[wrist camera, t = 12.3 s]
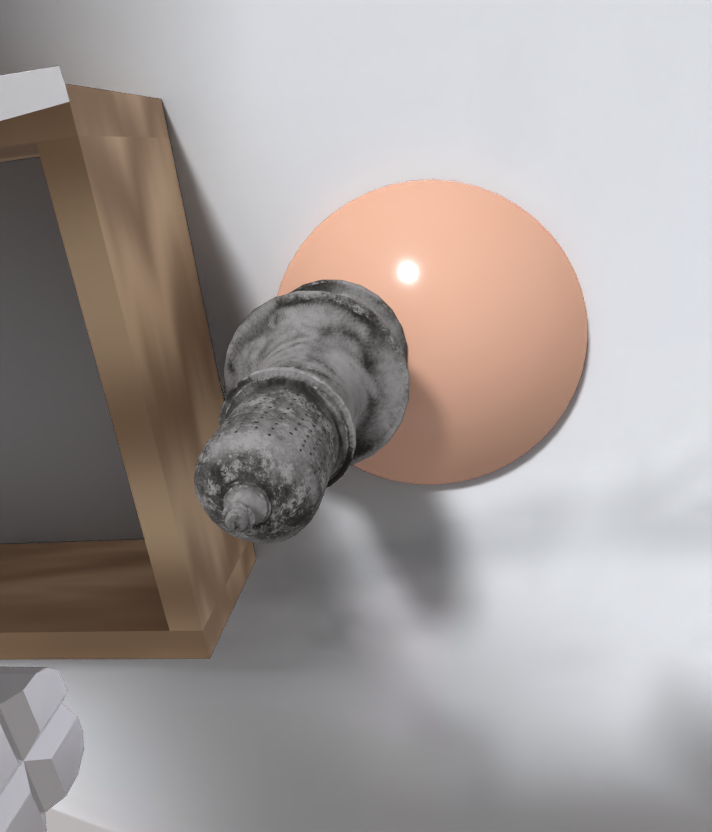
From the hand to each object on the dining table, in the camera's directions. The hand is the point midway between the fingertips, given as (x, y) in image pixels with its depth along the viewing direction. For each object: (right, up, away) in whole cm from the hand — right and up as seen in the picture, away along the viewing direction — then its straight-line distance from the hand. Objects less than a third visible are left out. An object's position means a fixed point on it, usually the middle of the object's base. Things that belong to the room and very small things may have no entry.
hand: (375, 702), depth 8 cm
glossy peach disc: (+2, +6, +16) cm, 17 cm away
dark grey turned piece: (-1, +6, +16) cm, 17 cm away
